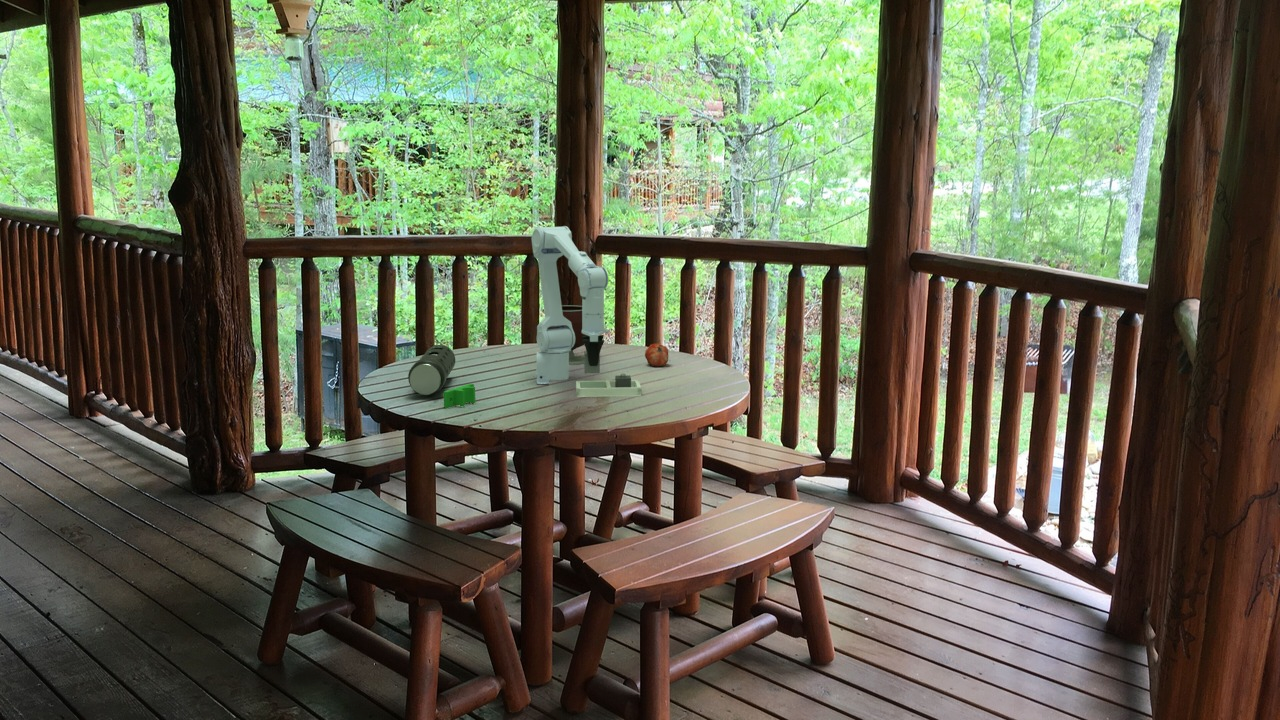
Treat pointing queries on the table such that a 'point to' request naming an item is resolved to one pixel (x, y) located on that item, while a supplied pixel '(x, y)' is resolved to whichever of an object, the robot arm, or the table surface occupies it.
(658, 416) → the table surface
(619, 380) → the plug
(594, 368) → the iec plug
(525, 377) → the table surface
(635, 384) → the pale green compartment tray
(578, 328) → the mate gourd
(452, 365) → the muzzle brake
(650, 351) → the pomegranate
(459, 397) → the pipe clamp
